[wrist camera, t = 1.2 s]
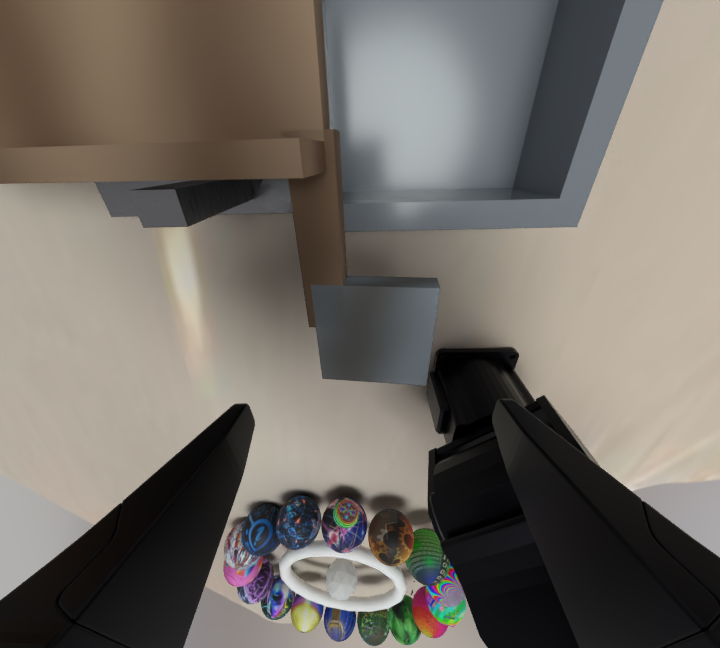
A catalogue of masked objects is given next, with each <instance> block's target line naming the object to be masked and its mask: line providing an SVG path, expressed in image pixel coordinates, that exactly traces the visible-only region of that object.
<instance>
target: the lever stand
mask: <svg viewBox="0 0 720 648" xmlns="http://www.w3.org/2000/svg"><path fill="white" fill-rule="evenodd" d="M95 183H96V185H97V188H98V190H99V192H100V194H101V196H102V198H103V200H104V202H105V204H106V206H107V209H108V211H109V213H110V215H111V217H123V216H139V218H140V220H141V223H142V225H143V228H150V227H188V226H190V225H193V224H195V223H198V222H200V221H202V220H205V219H207V218H210V217H212V216H214V215H217V214H256V213H293V211H292V204H291V197H290V190H289V183H288V179H232V180H175V181H118V182H95Z"/></svg>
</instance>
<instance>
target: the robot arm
mask: <svg viewBox="0 0 720 648" xmlns="http://www.w3.org/2000/svg"><path fill="white" fill-rule="evenodd" d="M511 354H513V355H511ZM441 355H444V356H442V357H441ZM510 355H511V356H510ZM518 357H519V354H518V352H517V351H516V350H515V349H442V350H439V351H438V352H437V353H436V357H435V363H434V370H433V372H431V373H430V374H429V380H428V387H427V398H428V402H429V406H430V410H431V414H432V418H433V422H434V426H435V430H436V432H438V433H439V434H444V437H445V440H446V445H444V446H442V447H440V448H438V449H436V448H434V449H432V450H430V451H429V466H428V513H429V516H430V518H431V521H432V524H433V527H434V529H435V532H436V534H437V536H438V538H439V540H440V545H441V548H442V550H443V552H444V553H445V555H446V557H447V558H448V560H449V562H450V563H451V565H452V567H453V569H454V571H455V573H456V575H457V577H458V579H459V582H460V584H461V586H462V588H463V591H464V594H465V596H466V599H467V601H468V604H469V607H470V610H471V613H472V615H473V618H474V621H475V624H476V627H477V629H478V632H479V635H480V637H481V639H482V640H483V642H484V643H485V644H486V646H487V647H488V648H720V557H718V556H717V555H716V554H714V553H713V552H711V551H710V550H708V549H707V548H706V547H704V546H703V545H701V544H700V543H699V542H697V541H696V540H695V539H693V538H692V537H691V536H689V535H688V534H687V533H685V532H684V531H683V530H681V529H680V528H679V527H677V526H676V525H675V524H673V523H672V522H671V521H669V520H668V519H667V518H665V517H664V516H663V515H661V514H660V513H659V512H658V511H656V510H655V509H654V508H652V507H651V506H650V505H649V504H647V503H646V502H644V501H642V500H641V499H640V498H639V497H638V496H637V495H636V494H634V493H633V492H632V491H630V490H629V489H628V488H627V487H625V486H624V485H623V484H621V483H620V482H619V481H618V480H616V479H615V478H614V477H612V476H611V475H610V474H609V473H607V472H606V471H605V470H603V469H602V468H601V467H600V466H599V464H598V463H597V462H596V460H595V459H594V458H593V456H592V455H591V454H590V452H589V451H588V450H587V448H586V447H585V446H584V444H583V443H582V442H581V441H580V439H579V438H578V437H577V435H576V434H575V433H574V431H573V430H572V429H571V428H570V426H569V425H568V424H567V423H566V421H565V420H564V419H563V418H562V417H561V415H560V414H559V413H558V412H557V410H556V409H555V408H554V407H553V405H552V404H551V403H550V402H549V401H548V399H547V398H546V397H545V396H544V395H543V396H541V397H539V398H537V399H536V400H537V401H535V400H534V399H533V397H532V396H531V394H530V393H529V391H528V390H527V388H526V387H525V385H524V384H523V383H522V381H521V380H520V378H519V377H518V375H517V374H516V372H515V371H514V368H515V366H516V363H517V360H518ZM254 427H255V420H254V417H253V415H252V412H251V409H250V407H249V405H248V404H246V403H245V404H234V405H233V406H231V407H230V408H229V409H228V410H227V411H226V412H225V413H223V414H222V415H221V416H220V417H219V418H218V419H217V420H215V421H214V422H213V423H212V424H211V425H210V426H208V427H207V428H206V429H205V430H204V431H203V432H202V433H200V434H199V435H198V436H197V437H196V438H195V439H194V440H192V441H191V442H190V443H189V444H188V445H187V446H185V447H184V448H183V449H182V450H181V451H180V452H179V453H177V454H176V455H175V456H174V457H173V458H172V459H171V460H169V461H168V462H167V463H166V464H165V465H164V466H162V467H161V468H160V469H159V470H158V471H157V472H156V473H154V474H153V475H152V476H151V477H150V478H149V479H148V480H146V481H145V482H144V483H143V484H142V485H141V486H139V487H138V488H137V489H136V490H135V491H134V492H133V493H131V494H130V495H129V496H128V497H127V498H126V499H125V500H124V501H123V502H122V503H120V504H119V505H117V506H116V507H115V508H114V509H113V510H112V511H111V512H109V513H108V514H107V515H106V516H105V517H104V518H102V519H101V520H100V521H99V522H98V523H97V524H95V525H94V526H93V527H92V528H91V529H89V530H88V531H87V532H86V533H85V534H84V535H82V536H81V537H80V538H79V539H78V540H76V541H75V542H74V543H73V544H71V545H70V546H69V547H68V548H66V549H65V550H64V551H63V552H61V553H60V554H59V555H58V556H56V557H55V558H54V559H53V560H51V561H50V562H49V563H48V564H46V565H45V566H44V567H42V568H41V569H40V570H39V571H38V572H36V573H35V574H34V575H32V576H31V577H30V578H28V579H27V580H26V581H25V582H23V583H22V584H21V585H19V586H18V587H17V588H16V589H14V590H13V591H12V592H10V593H9V594H8V595H7V596H5V597H4V598H3V599H2V600H0V648H183V647H184V644H185V641H186V638H187V635H188V632H189V629H190V626H191V624H192V621H193V618H194V615H195V612H196V609H197V606H198V603H199V601H200V598H201V595H202V592H203V589H204V586H205V583H206V581H207V578H208V575H209V572H210V569H211V566H212V563H213V560H214V557H215V555H216V552H217V549H218V546H219V543H220V540H221V537H222V534H223V532H224V529H225V526H226V523H227V520H228V517H229V514H230V511H231V508H232V506H233V503H234V500H235V497H236V494H237V491H238V488H239V485H240V482H241V479H242V476H243V473H244V469H245V465H246V461H247V457H248V452H249V448H250V444H251V440H252V435H253V431H254Z"/></svg>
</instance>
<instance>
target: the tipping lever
mask: <svg viewBox="0 0 720 648" xmlns="http://www.w3.org/2000/svg"><path fill="white" fill-rule="evenodd" d="M232 179H288V183H289V190H290V197H291V204H292V211H293V218H294V225H295V232H296V239H297V245H298V252H299V259H300V266H301V273H302V280H303V287H304V294H305V301H306V308H307V315H308V322H309V327H316V331H317V339H318V347H319V354H320V362H321V370H322V378H323V379H336V380H351V381H365V382H380V383H395V384H410V385H425V386H426V384H427V377H428V370H429V363H430V356H431V349H432V342H433V335H434V328H435V321H436V314H437V307H438V300H439V293H440V286H439V283H438V280H437V278H412V277H370V276H347V267H346V248H345V229H344V209H343V190H342V171H341V152H340V132H339V131H338V130H335V129H330V118H329V103H328V88H327V73H326V58H325V43H324V28H323V13H322V0H0V184H5V183H62V182H118V181H175V180H232Z"/></svg>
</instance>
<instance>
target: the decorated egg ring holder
mask: <svg viewBox="0 0 720 648" xmlns="http://www.w3.org/2000/svg"><path fill="white" fill-rule="evenodd" d="M320 525H321V514H320V509H319V507H318V505H317V504H316V502H315V501H314V500H313V499H311V498H310V497H307V496H303V495H299V496H295V497H292V498H291V499H289V500H288V501H287V502H285V503H284V505H283V506H282V507H281V509H279V508H278V507H277V506H275V505H271V504H264V505H260V506H258V507H257V508H255V509H254V510H253V511H251V512H250V514H249V515H248V516H247V518H246V519H245V521H242V522H240V523H239V524H237V525H236V526H235V527H234V528H233V529H232V530H231V531H230V533H229V534H228V536H227V538H226V541H225V545H224V556H225V561H224V576H225V578H226V580H227V582H228V583H229V584H231V585H232V586H236V587H237V590H238V594H239V597H240V598H241V600H242V601H243V602H245V603H247V604H255V603H258V602H260V601H261V607H262V611H263V613H264V614H265V616H266V617H267V618H269V619H271V620H278V619H280V618H282V617H284V616H285V615H286V614H287V613H288V612H289V610H290V609H291V619H292V622H293V624H294V627H295V628H296V629H297V630H298V631H300V632H303V633H306V632H310V631H312V630H313V629H315V627H316V626H317V625H318V624H319V622H320V620H321V618H322V614H323V605H324V606H326V609H325V614H324V625H325V629H326V632H327V633H328V635H329V637H330V638H331V639H333V640H335V641H338V642H340V641H344V640H346V639H347V638H348V637H349V636H350V635H351V634H352V632H353V630H354V627H355V622H356V611H359V612H358V618H357V620H358V621H357V623H358V629H359V633H360V635H361V637H362V638H363V640H364V641H365V642H366V643H367V644H369V645H372V646H377V645H380V644H381V643H382V642H384V641H385V639H386V637H387V635H388V633H389V629H390V630H391V632H392V634H393V636H394V637H395V639H396V640H397V641H398V642H400V643H402V644H404V645H411V644H413V643H414V642H416V641H417V640H418V638H419V636H420V634H421V632H422V633H423V634H425V635H426V636H428V637H430V638H438V637H440V636H442V635H443V634H444V633H445V632H446V630H447V628H448V626H450V625H454V626H455V625H456V624H457V623H459V622H460V620H461V619H462V618H463V616H464V613H465V610H466V598H465V594H464V591H463V588H462V586H461V584H460V582H459V579H458V577H457V575H456V573H455V571H454V569H453V567H452V565H451V563H450V562H449V560H448V558H447V557H446V555H445V553H444V552H443V550H442V548H441V545H440V540H439V538H438V536H437V534H436V532H434V531H432V530H430V529H425V528H423V529H418V530H416V531H414V532H413V530H412V527H411V524H410V522H409V521H408V519H407V518H406V517H405V516H404V515H403V514H402V513H401V512H399V511H397V510H394V509H385V510H382V511H380V512H379V513H377V514H376V515H375V516H374V518H373V519H372V521H371V524H370V527H369V531H368V540H369V545H370V548H371V549H369V548H366V547H364V546H361V545H360V544H361V543H362V541H363V540H364V537H365V535H366V531H367V517H366V514H365V511H364V509H363V507H362V506H361V504H360V503H359V502H357V501H356V500H355V499H353V498H350V497H340V498H338V499H335V500H334V501H333V502H331V503H330V504H329V506H328V507H327V508H326V510H325V512H324V515H323V518H322V534H323V538H324V540H318V541H314V539H315V538H316V536H317V534H318V532H319V529H320ZM280 543H281V544H283V545H284V546H285V547H286V548H288V551H287V552H286V553H285V554H284V555H283V556H282V557H281V559H280V561H279V569H280V574H277V575H275V576H274V570H273V567H272V564H271V563H270V562H269V561H268V560H267V559H266V558H263V556H265V555H267V554H269V553H271V552H273V551H274V550H275V549H276V548H277V547H278V546H279V544H280ZM308 557H338V558H341V559H336V560H335V561H334V562H333V563H332V564H331V565H330V566H329V569H328V571H327V574H326V587H327V589H328V592H327V591H324V590H322V589H319V588H316V587H314V586H312V585H310V584H308V583H307V582H305V581H304V580H302V579H301V578H299V577H298V576H297V575H296V574H295V572H294V571H293V570H292V569H291V565H292V564H293V563H294V562H295V561H298V560H301V559H304V558H308ZM347 559H348V560H347ZM349 560H354V561H358V562H360V563H363V564H365V565H368V566H370V567H373V568H375V569H378V570H379V571H381V572H382V573H383V574H385V575H386V576H387V577H389V578H390V579H392V581H393V583H394V588H393V589H391V590H389V591H388V592H386V593H384V594H380V595H375V596H370V597H356V596H351V595H352V594H353V593H354V591H355V588H356V585H357V582H358V581H357V570H356V568H355V567H354V565H353V563H352V562H351V561H349ZM405 561H406V564H407V567H408V569H409V572H410V573H411V574H412V576H413V577H414V578H415V579H416V580H417V581H418V582H420V583H421V584H423V585H426V586H423V587H421V588H420V589H419V590H418V591H417V592H416V594H415V595H413V596H414V598H413V599H412V598H411V597H409V596H407V595H404V594H405V592H406V590H407V581H406V579H405V577H404V575H403V573H402V571H401V569H400V568H399V566H398V565H401V564H403V563H404V562H405ZM414 582H415V581H414ZM295 592H296V593H297V594H296V596H295ZM412 594H413V590H412V593H411V595H412ZM387 609H389V611H388V610H387Z"/></svg>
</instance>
